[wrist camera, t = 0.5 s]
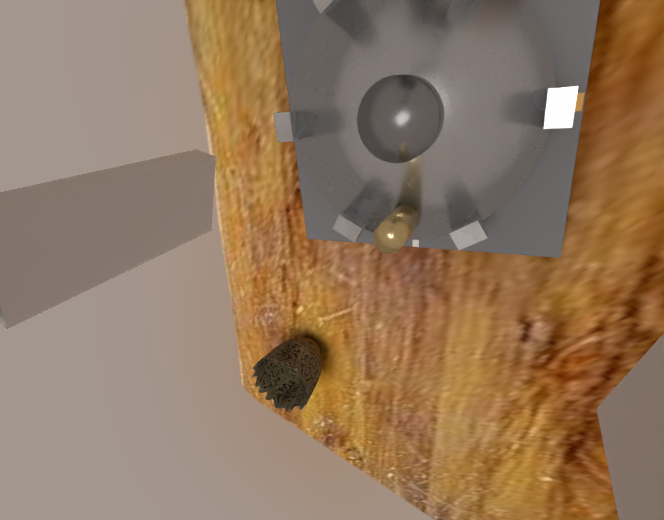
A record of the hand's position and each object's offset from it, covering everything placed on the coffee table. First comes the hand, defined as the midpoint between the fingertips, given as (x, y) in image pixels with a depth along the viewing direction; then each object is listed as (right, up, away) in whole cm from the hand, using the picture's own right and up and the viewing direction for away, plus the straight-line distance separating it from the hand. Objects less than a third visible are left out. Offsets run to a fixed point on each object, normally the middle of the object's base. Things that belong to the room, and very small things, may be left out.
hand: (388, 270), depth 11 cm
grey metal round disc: (+5, +12, +20) cm, 24 cm away
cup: (-4, -11, +39) cm, 41 cm away
